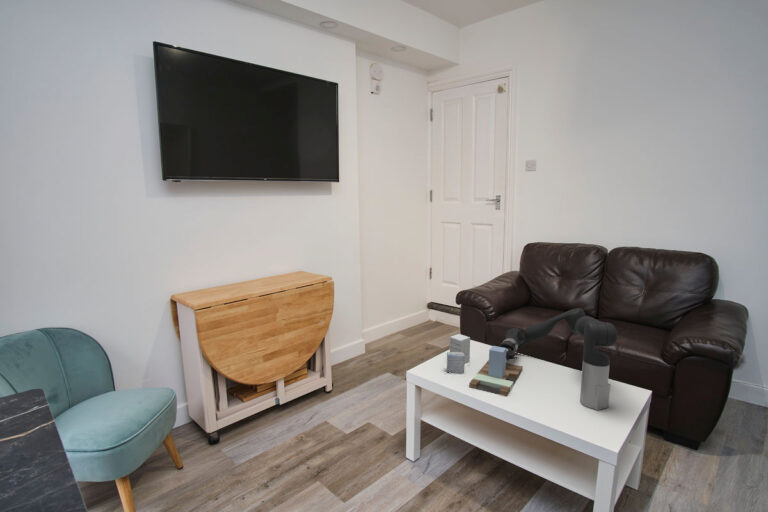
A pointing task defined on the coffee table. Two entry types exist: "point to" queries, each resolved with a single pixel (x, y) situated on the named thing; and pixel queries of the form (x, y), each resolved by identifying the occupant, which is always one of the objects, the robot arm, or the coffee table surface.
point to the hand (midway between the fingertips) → (499, 359)
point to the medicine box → (455, 362)
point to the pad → (493, 381)
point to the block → (497, 362)
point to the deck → (510, 374)
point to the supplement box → (460, 345)
